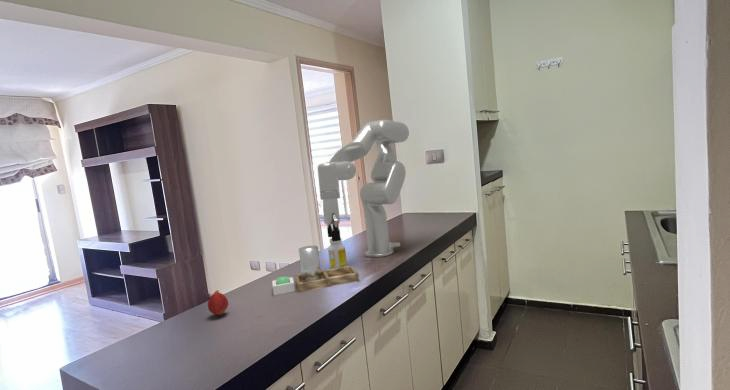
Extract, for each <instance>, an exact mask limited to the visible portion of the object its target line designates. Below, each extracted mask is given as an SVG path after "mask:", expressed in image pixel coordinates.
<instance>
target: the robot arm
mask: <svg viewBox="0 0 730 390" xmlns="http://www.w3.org/2000/svg"><path fill="white" fill-rule="evenodd" d="M409 131H410V130H409V127H408V125H406V124H405V123H403V122H401V121H400V122H399V121H395V120H390V119H379V120H374V121H368V122H366V123H365V124H364V125H363V126H362V127H361V128H360V129H359V131H358V132H357V133H356V135H354V137H353V138H352V140H351V141H349V142H348V143H347V144H345V145H344V146H342V147H340V148H339V149H338V150H336V152H334V153H333V154H332V155H331V156H330V157H329V158H328V160H327V161H326V162H325V163H324V162H322V163H320V164H318V165H317V176H318V186H319V197H320V200H321V201H322V209H323V223H324V224H325V225H326V226H327V228H326V229H327V230H326V231H327V237H328V238H332V241H340V240H341V239H342V238H341V230H340V226H339V224H340V223H341V220H340V218H341V217H340V210H339V201H338V199H341V194H340V193H341V192H340V184H339V183H340V181H349V180H351V179H353V178H354V177H355V176H356V173H357V167H356V166H355V163H353V162H355V161H357V160H359V159H361V158H364V157H365V156H367V155H368V153H369V152H370V150H371V149H372V148H373V147H374V145H375V144H376V147H377V152H378V153H377V157H376V158H375V160H374V164H373V167H372V169H371V172H370V179H371V180H372V182H368V183H365V184H363V185H362V186H361V188H360V190H359V197H360V201H361V203H362V208H363V214H364V224H365V232H366V241H367V250H366V251H365V252H364V254H365V256H366V257H369V258H381V257H386V256H390V255H392V254H393V253H394V248H399V247H401V243H400V242H391V241H390V238H389V230H388V229H389V228H388V218H387V212H386V210H385V209H386V208H385V207H384V206H383V205H392V204H395V203H396V201H397V200H399V199H398V198H399V197H400V193H401V190H402V188H403V185H404V182H405V178H406V167H405V165H404V164H403V163H402V162H400V161H399V160H398V161H397V160H396V159H397V153H396V151H395V149H394V148H393V146H392V144H398V143H403V142H405V141H407V139H408V138H409V136H410V132H409ZM340 238H341V239H340Z"/></svg>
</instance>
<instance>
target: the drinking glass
mask: <svg viewBox="0 0 730 390" xmlns="http://www.w3.org/2000/svg"><path fill="white" fill-rule="evenodd" d="M298 255H299V263H300V270H301V275H302V279H303V283H304V282H309V281H315V280H320V279H322V278H321V271H322V270H321V263H320V262H321V261H320V255H319V246H318V245H305V246H302V247H300V248H298Z"/></svg>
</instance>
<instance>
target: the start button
mask: <svg viewBox="0 0 730 390" xmlns="http://www.w3.org/2000/svg"><path fill="white" fill-rule="evenodd" d="M289 278H290V277H289V276H288V275H287V276H285V275H283V276H279V277H277V278H276V280H277V285H279V284H284V283H289Z"/></svg>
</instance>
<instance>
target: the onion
mask: <svg viewBox="0 0 730 390" xmlns="http://www.w3.org/2000/svg"><path fill="white" fill-rule="evenodd" d="M228 306H229V300H228V298H227V297H226V295H225V294H223V293H221V292H219V290H218V289H216V290H215V291H214V292H213V294H212V295H211V296H210V297H209V299H208V301H207V308H208V311H209V312H210V313H211V314H213V315H215V316H219V317H220V316H222V315H223V314H224V312H225V311H226V310H227V309H228Z"/></svg>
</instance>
